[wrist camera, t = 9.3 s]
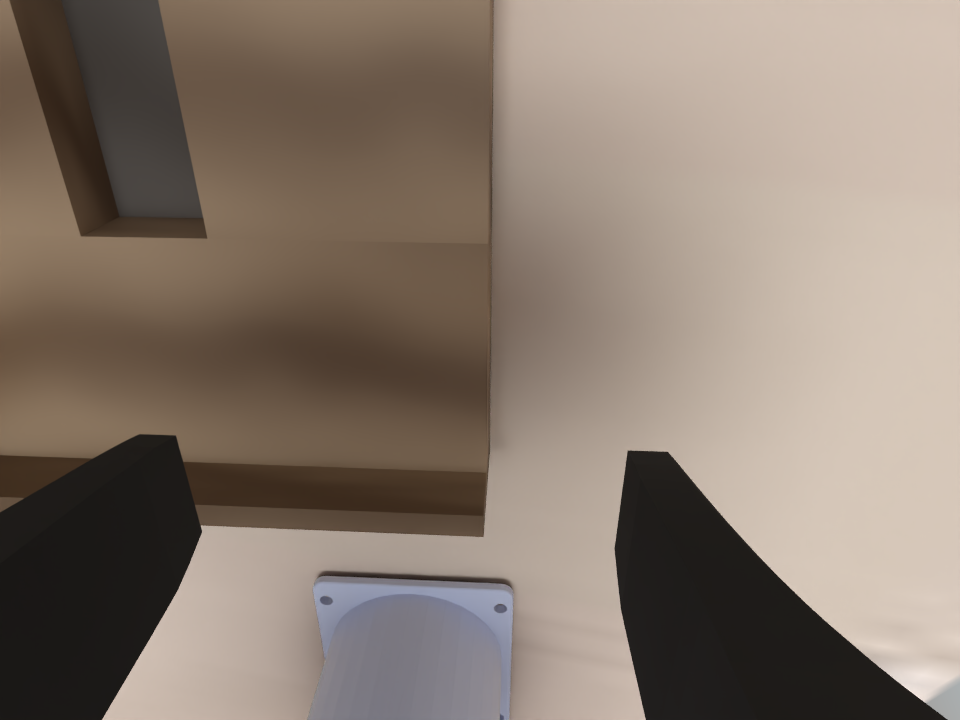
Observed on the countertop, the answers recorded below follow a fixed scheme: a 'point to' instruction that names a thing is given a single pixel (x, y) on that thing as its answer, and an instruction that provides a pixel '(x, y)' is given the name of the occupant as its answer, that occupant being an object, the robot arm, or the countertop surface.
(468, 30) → the trap board
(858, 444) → the countertop surface
